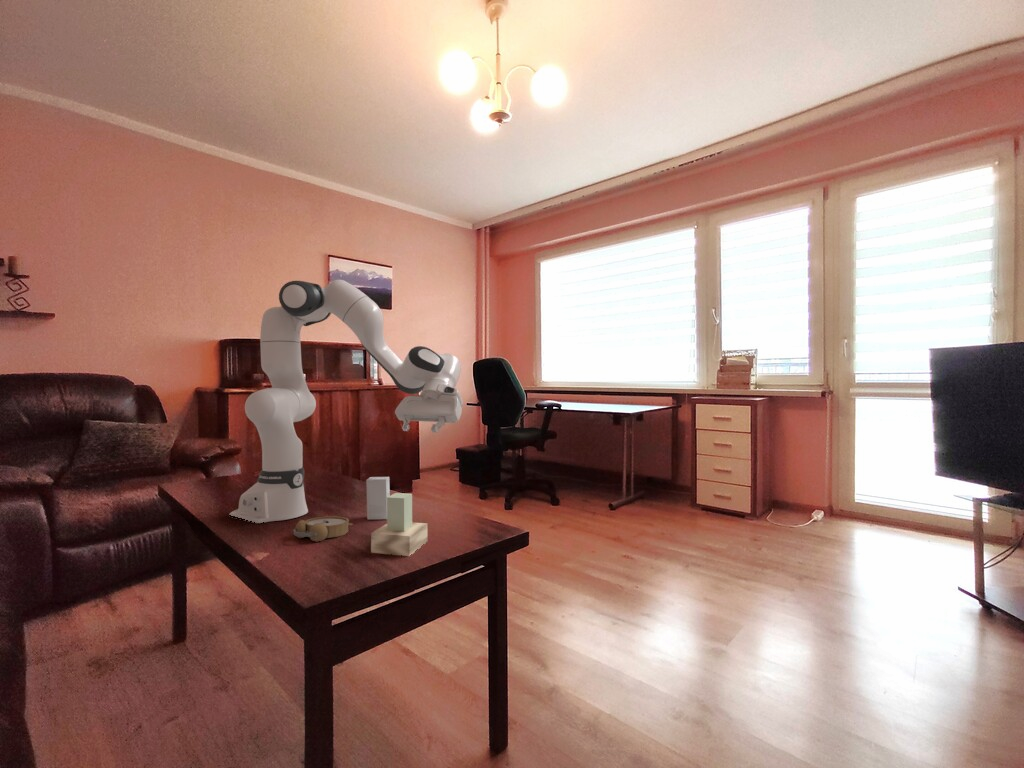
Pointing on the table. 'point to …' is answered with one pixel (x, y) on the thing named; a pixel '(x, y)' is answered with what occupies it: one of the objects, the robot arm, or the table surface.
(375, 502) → the skincare box
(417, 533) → the birch block
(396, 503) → the sage block
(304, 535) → the alarm clock
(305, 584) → the table surface
